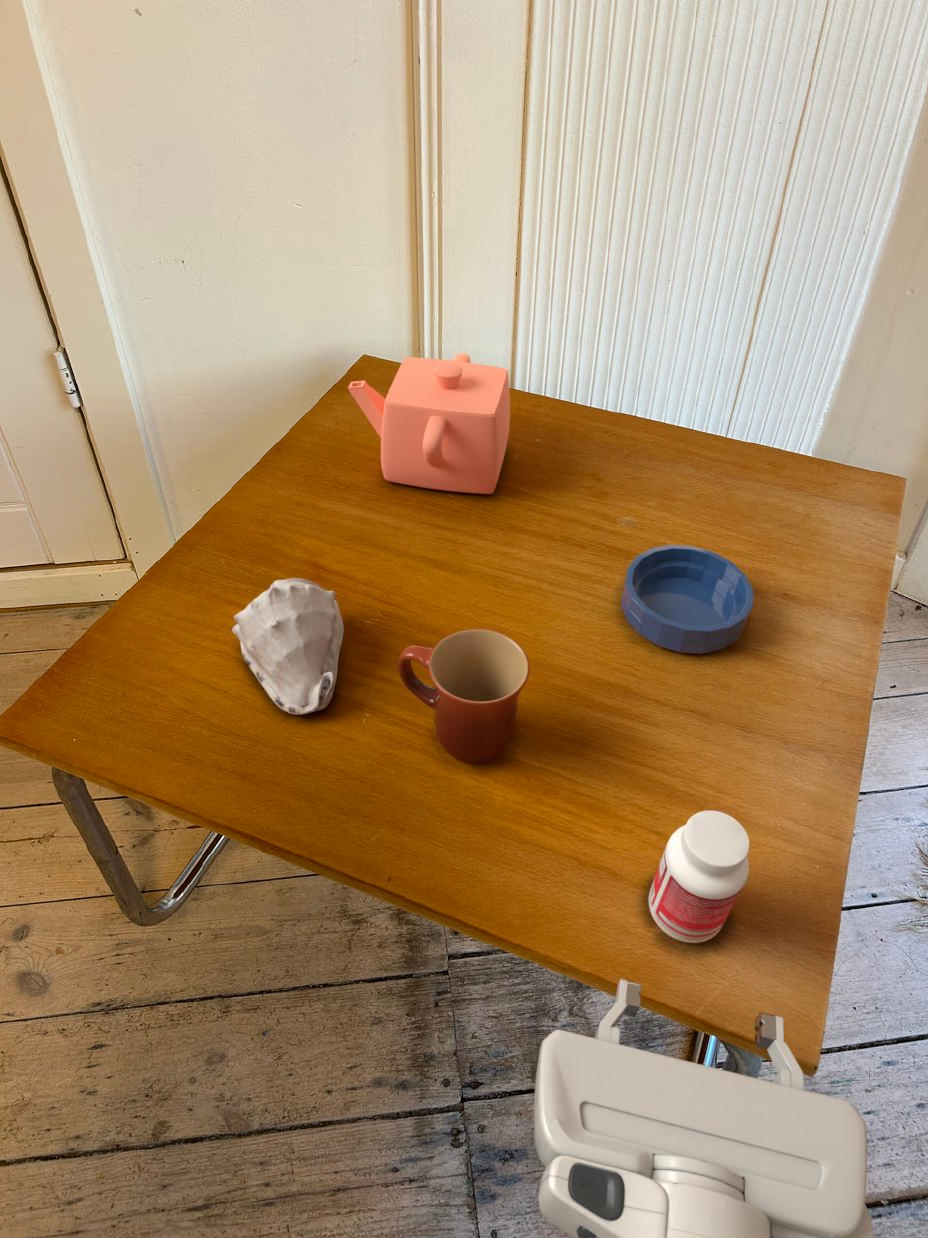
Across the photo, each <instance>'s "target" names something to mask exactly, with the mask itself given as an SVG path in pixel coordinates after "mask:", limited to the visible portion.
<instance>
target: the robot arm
mask: <svg viewBox="0 0 928 1238" xmlns="http://www.w3.org/2000/svg"><path fill="white" fill-rule="evenodd" d="M642 986H643V985H642V983H640V982H636V981H633V980H628V979H624V978H619V981H618V984H617V987H616V993H615V1003H614V1004H613V1006H612V1007H611V1008H610V1009H609V1011H608V1012H607V1013H606V1014H605V1016H604V1017H603V1018H602V1019H601V1020H600V1022H599V1024H598V1026H597V1029H596V1031H595V1035H594V1037H592V1036H587V1035H583V1034H580V1033H576V1032H571V1031H567V1030H563V1029H554V1030H553V1031H552V1032H551V1033H549V1034H548V1035H547V1036H546V1037H545V1038H543V1040H542V1041H541V1044H540V1047H539V1051H538V1057H537V1064H536V1074H535V1083H534V1099H533V1100H534V1101H533V1137H534V1144H535V1149H536V1152H537V1155H538V1157H539V1160H540V1162H541V1163H542V1165H543V1167H545V1169H544V1171H543V1174H542V1176H541V1180H540V1184H539V1189H538V1207H539V1212H540V1213H541V1215H542V1216H543V1218H545V1220H547V1221H548V1222H549V1223H551V1224H552V1225H554V1226H555V1227H557V1228H558V1229H559V1230H561V1231H562V1232H564V1233H565V1234H567V1235H568V1236H569V1237H571V1238H875V1237H874V1226H873V1219H872V1216H871V1213H870V1211H869V1209H868V1207H867V1205H866V1203H865V1201H866V1195H867V1194H866V1193H867V1181H868V1131H867V1124H866V1121H865V1119H864V1118H863V1116H862V1114H861V1113H860V1112H859V1110H858V1108H857V1107H856V1106H855V1105H854V1103H852V1102H851V1101H850V1100H846V1099H843V1098H839V1097H834V1096H831V1095H826V1094H822V1093H818V1092H814V1091H810V1090H806V1089H805V1084H804V1083H805V1081H804V1080H805V1077H804V1071H803V1070H802V1068H801V1066H800V1064H799V1063H798V1061H797V1059H796V1057H795V1055H794V1054H793V1052H792V1051H791V1050H792V1049H790V1047H789V1045H788V1044H787V1042H785V1024H784V1017H783V1016H780V1015H778V1014H777V1015H776V1014H771V1013H767V1012H761V1011H759V1012H758V1015H756V1017H755V1019H754V1025H753V1026H754V1031H755V1035H754V1046H755V1047H757V1048H761V1049H765V1050H766V1052H767V1053H768V1055H769V1057H770V1059H771V1062H772V1063H773V1066H774V1068H775V1070H776V1072H777V1074H776V1075H775V1076H774V1077H773V1078H772V1080H771V1081H770V1080H766V1079H761V1078H757V1077H755V1076H749V1075H745V1074H742V1073H738V1072H733V1071H729V1070H725V1069H722V1068H717V1067H713V1066H709V1065H705V1064H702V1063H701V1064H700V1063H698V1062H697V1063H696V1062H693V1061H689V1060H685V1059H681V1058H677V1057H672V1056H669V1055H664V1054H661V1053H656V1052H652V1051H649V1050H648V1051H647V1050H645V1049H640V1048H636V1047H633V1046H627V1045H624V1044H620V1039H621V1038H620V1037H621V1029H620V1028H619V1027H616V1026H617V1025H618V1024H619V1022H620V1021H621V1020H622V1018H623V1017H624V1016H629V1017H632V1018H633V1017H634V1018H635V1017H637V1015H638V1012H639V1010H640V1007H641V999H642V998H641V993H642Z"/></svg>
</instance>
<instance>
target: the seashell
mask: <svg viewBox="0 0 928 1238" xmlns="http://www.w3.org/2000/svg"><path fill="white" fill-rule="evenodd" d="M335 599H336V591H334V590H326V589H324V588H323V587H322V586H321V585H319V584H318V583H316V582H314V581H313V580H309V579H306V578H299V577H292V578H286V579H276V580H275V581H273V583H272V584H270V586H269V588H268V589H267V590H265V591H263V592H261V593H260V594H259V595H258V596H257V597H255V598H254V599H252V601H251V602H250V603H249V604H247V606H246V607H245V608H244V609H243V610H241V611H239V612H238V613H236V614H235V615H233V620H234V621H235V622H236V623H235V625H234V626H233V627H232V628H231V631H232V633H233V634H234V635H235V636H236V637H237V638H238V641H239V644H240V650H241V651H240V652H241V654H242V657H243V660H244V661H245V663H246V664H247V666H248V667H249V669H250V670H251V673H253V674H254V676H255V678H256V679H257V680H258V682H259V683H260V685H261V687H263V689H264V691H265V692H266V693H267V695H268V696H269V698H270V699H271V700H272V701H273V703H274V704H275V705H276V706H277V707H278V708H279V709H281V710H282V711H284V712H287V713H288V714H290V715H298V716H299V715H306V714H311V713H314V712H317V711H322V710H324V709H325V708H327V706H328V705H329V704H330V702H331V701H332V699H333V695H334V691H335V686H336V683H337V676H338V666H339V658H340V651H341V647H342V643H343V638H344V632H345V629H344V621H343V617H342V614H341V612H340V606H339V603H338V601H337V600H335Z"/></svg>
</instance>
